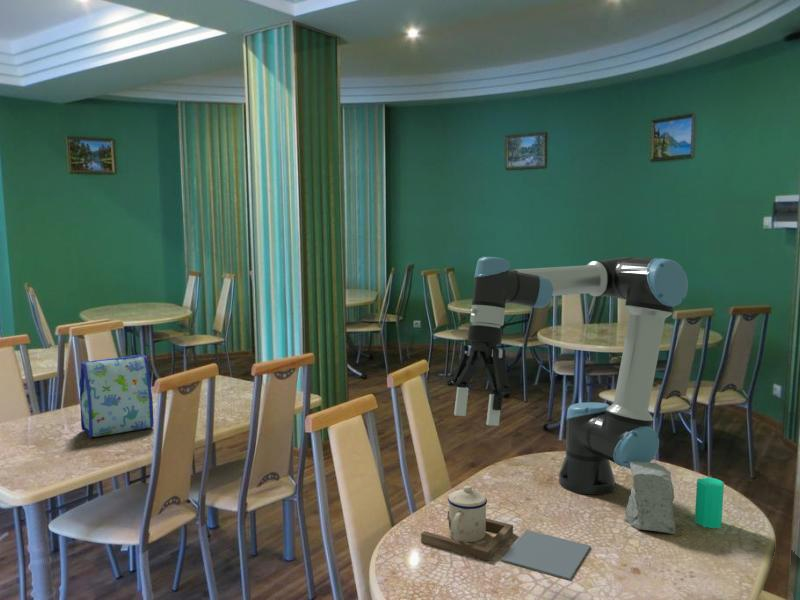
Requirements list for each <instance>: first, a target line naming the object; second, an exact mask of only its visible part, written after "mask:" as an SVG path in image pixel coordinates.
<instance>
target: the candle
mask: <svg viewBox="0 0 800 600" xmlns="http://www.w3.org/2000/svg"><path fill="white" fill-rule="evenodd" d="M724 486H725V482H724V481H722V480H721V479H718V478H714V477H712V475H710V476H709V477H708V476H707V477H704V478H697V480H696V493H695V494H696V495H695V511H694V522H695V521H696V522H697V523H698V524H700V525H702V526H704V527H703V528H705V527H709V528H708V529H710V528H717V529H719V528H718V527H720V526H721V527H722V525H721V524H722V523H723V510H724V509H723V505H724V504H723V503H724V488H725V487H724ZM696 522H695V523H696ZM697 523H696V524H697ZM698 524H697V525H698ZM700 525H699V526H700ZM702 526H701V527H702ZM721 527H720V528H721Z"/></svg>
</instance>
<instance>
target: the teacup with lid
mask: <svg viewBox="0 0 800 600" xmlns="http://www.w3.org/2000/svg"><path fill="white" fill-rule="evenodd" d="M447 501H448V511H449V520H448V534H449V536H450V538H451V539H455V540H459V541H462V542H466V543H476V542H479V541H481V540H483V539H484V538H485V536H486V531H487V529H486V517H487V515H486V514H487V509H486V508H487V503H488V499H487V497H486V495H485V494H484V493H482V492H481V491H478V490H475V489H473V487H472V485H464V486H463V488H462V489H458V490H457V489H456V490H454V491H452V492H451V493H450V494H449V496H448V499H447Z"/></svg>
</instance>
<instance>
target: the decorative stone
mask: <svg viewBox="0 0 800 600" xmlns="http://www.w3.org/2000/svg"><path fill="white" fill-rule="evenodd" d="M630 468H631V469H630V471H631V475H632V481H633V482H632V488H631V490H630V495H629V497H628V501H627V505H626V507H625V511H624V521H625V522H626V523H628V524H629V526H630V527H633V528H634V529H636V530H639V531H650V532H651V531H652V532H653V531H654V532H655V533H663V534H668V535H674V534H676V523H675V519H674V512H673V510H674V504H673V503H674V499H675V494H674V493H675V492H674V489H675V488H674V484H673V481H672V475H671V471H670V470H668V469H667V468H666V467H665V466H663V465H661V464H658V463H657V462H632V461H631V462H630Z"/></svg>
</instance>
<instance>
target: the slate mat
mask: <svg viewBox="0 0 800 600" xmlns="http://www.w3.org/2000/svg"><path fill="white" fill-rule="evenodd" d="M510 547H511V548H509V550H508V551H507V552H506V553H505V554H504V555H503V557H502V558H500V561H501V562H504V563H506V564H510V565H514V566H517V567H522V568H525V569H529V570H532V571H537V572H539V573H543V574H546V575H550V576H554V577H557V578H561V579H563V580H564V579H565V580H569V581H571V579H572V578H573V575H574V574H575V573H576V571H577V570H578V568H579V566H580V565H581V563H582V562H583V560H584V558H585V557H586V555H587V554H588V553H589V550H591V545H589V544H585V543H581V542H579V541H573V540H570V539H565V538H563V537H562V538H561V537H557V536H553V535H549V534H546V533H541V532H537V531H534V530H529V529H526V530H525V531H524V532H523V534H521V536H520V537H519V538H518V539H517V540H516V542H515V543H514V544H513V545H512V546H510Z"/></svg>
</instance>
